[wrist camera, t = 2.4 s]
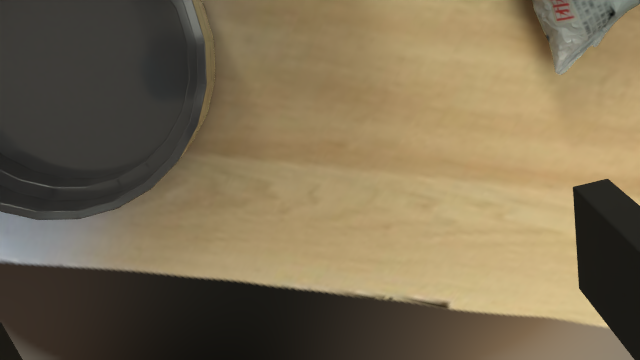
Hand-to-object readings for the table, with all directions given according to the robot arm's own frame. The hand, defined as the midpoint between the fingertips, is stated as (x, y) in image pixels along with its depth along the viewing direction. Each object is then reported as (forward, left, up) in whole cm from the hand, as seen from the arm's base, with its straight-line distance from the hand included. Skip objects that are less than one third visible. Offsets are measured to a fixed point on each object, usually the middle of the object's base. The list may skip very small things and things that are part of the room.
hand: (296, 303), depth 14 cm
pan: (-12, -6, -25) cm, 29 cm away
